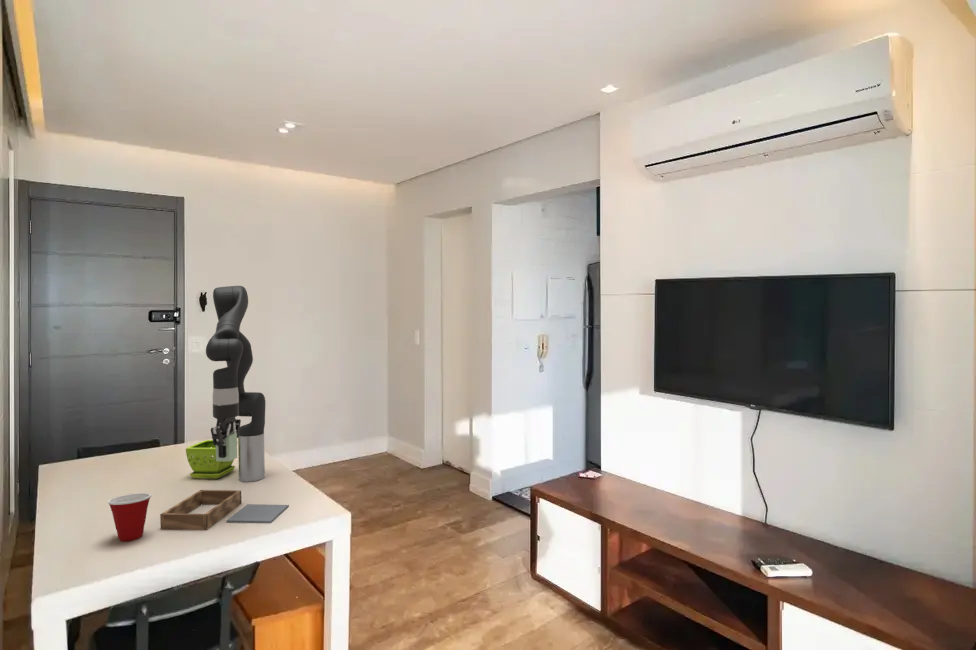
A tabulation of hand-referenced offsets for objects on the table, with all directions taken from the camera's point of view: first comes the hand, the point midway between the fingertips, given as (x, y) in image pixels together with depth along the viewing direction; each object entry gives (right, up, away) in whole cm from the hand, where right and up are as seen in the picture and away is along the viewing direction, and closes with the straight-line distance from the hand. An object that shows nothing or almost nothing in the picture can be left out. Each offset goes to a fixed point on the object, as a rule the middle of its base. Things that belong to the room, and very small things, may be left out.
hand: (226, 455), depth 180 cm
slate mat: (+9, -19, +2) cm, 22 cm away
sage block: (0, -1, 0) cm, 1 cm away
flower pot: (-25, -18, +42) cm, 52 cm away
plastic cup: (-20, -20, -16) cm, 33 cm away
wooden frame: (-8, -19, 0) cm, 21 cm away
